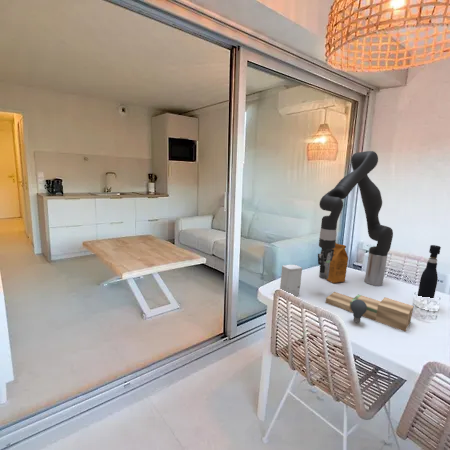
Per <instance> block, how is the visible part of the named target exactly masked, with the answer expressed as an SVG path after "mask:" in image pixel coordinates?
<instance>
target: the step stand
mask: <svg viewBox="0 0 450 450" xmlns="http://www.w3.org/2000/svg"><path fill="white" fill-rule="evenodd" d="M357 299H359V300H362V301H364V302H365V304H366V305H367V310H366V312H365V313H364V314H363V315H362V317H363V318H366V319H369V320H373V321H375V322H378V323H381V324H384V325H385V326H388V327H392V328H393V329H394V328H395V329H397V330H400V331H402V332H403V331H404V332H406V331H407V329H408V327H409V325H410V324H411V321H412V317H413V316H412V315H413V311H414V305H411V304H409V303H405V302H403V301H400V300H399V301H398V300H395V299H392V298H389V297H383V298H382V299H381V300H378V299H374V298H371V297H368V296H365V295H361V294H357V295H355V297H352V296H349V295H345V294H342V293H340V292H337V291H334V292H332V293H331V294H329V295H328V296H327V297H325V304H328V305H330V306H333V307H336V308H339V309H342V310H344V311H347V312H350V313H353V311H352V309H351V303H352V302H353V301H354V300H357Z"/></svg>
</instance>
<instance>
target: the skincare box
mask: <svg viewBox="0 0 450 450" xmlns="http://www.w3.org/2000/svg"><path fill="white" fill-rule="evenodd" d="M302 273H303V267H301V266H300V265H297V264H286V265H285V264H284V265H281V273H280V274H281V275H280V285H279V290H280V289H282V290H284V291H286V292H288V293H291V294H293V295H295V296H294V297H299V296H300V291H301V281H302Z"/></svg>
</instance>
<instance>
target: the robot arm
mask: <svg viewBox="0 0 450 450" xmlns="http://www.w3.org/2000/svg"><path fill="white" fill-rule="evenodd" d="M378 162H379V156H378V154H377V152H376V151H374V150H366V151H361V152H355V153H353V154H352V156H351V167H352V170H353V171H352V172H350V173H348V174H347V175H345V176H344V177H343V178H341V179H340V180H339V181H338V183H337V184H336V185H335V186H334V188H332V189H331V190H330V191H328V192H327V193H324V195H323V196H322V197H321V198H320V200H319V208H320V209H321V210H323V211H326V212H330V214H329V215H324V216H323V217H322V218H321V225H320V231H319V237H318V238H319V240H318V246H319V248H321V249H320V253H317V264H318V265H319V272H321V273H324V272H325V264H326V261H327V260H328V256H329V255H331V258H330V261H332V258H333V253H334V248H335V243H336V244H337V230H338V229H337V227H338V220H339V218H340V215H341V213H342V210H343V208H344V202H343V199H344V200H345V199H346V198H347V197H348V195H350V193H351V192H352V190H353V189H354V188H355V186H357V185H358V188H359V192H360V198H361V203H362V205H363V208H364V209H363V210H364V214H365V220H366V227H367V233H368V237H369V238H370V239H371V240H372V241H376V242H377V243H376V245H375V246H370V247H369V250H368V256H367V261H366V262H367V263H366V269H365V270H366V271H365V275H364V282H365V283H366V284H368V285H371V286H375V287H376V286H378V287H380V286H383V284H384V280H385V273H386V268H387V267H386V266H387V261H388V254H389V251H390V249H391V247H392V242H393V237H394V232H393V229H392V227H389V226H387V225H382V224H381V222H380V219H379V218H380V217H379V214H380V211H381V209H382V206H383V198H382V193H381V190H380V189H379V188H378V186H377V185H376V184H375V183H374V182H373V181H372V180H371V178H370V177H369V175H368V174H370V173H371V172H372V171H373V169H375V168H376V166H377V165H378ZM324 258H326V259H324Z"/></svg>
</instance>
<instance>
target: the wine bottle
mask: <svg viewBox="0 0 450 450" xmlns="http://www.w3.org/2000/svg"><path fill="white" fill-rule="evenodd" d="M441 248H442V247H441V246H439V245H436V244H431V245H430V246H429V250H428V252H429V253H430V255H429V258H428V260H427V262H426V267H425V268H424V270H423V271H422V274H421V275H420V280H419V285H418V291H417V295H418V296H422V297H430V298H434V299H435V294H436V291H437V290H436V289H437V285H438V271H437V267H438V255H441V254H440V252H441Z"/></svg>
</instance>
